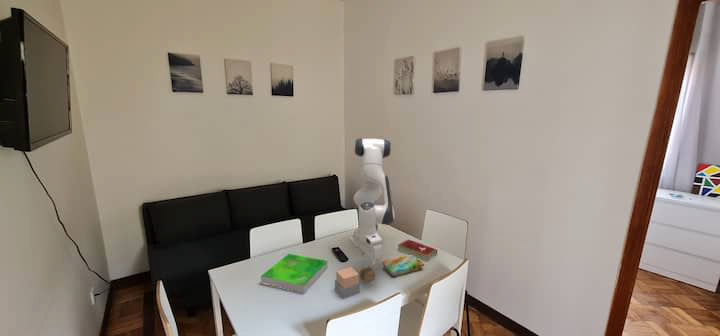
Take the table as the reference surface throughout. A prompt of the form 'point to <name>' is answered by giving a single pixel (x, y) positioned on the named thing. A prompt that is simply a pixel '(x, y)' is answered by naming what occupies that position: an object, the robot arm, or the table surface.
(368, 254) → the robot arm
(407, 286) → the table surface
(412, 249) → the hardcover book
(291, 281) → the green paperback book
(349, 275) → the block
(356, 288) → the tower base
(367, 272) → the walnut block
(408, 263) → the puzzle game
